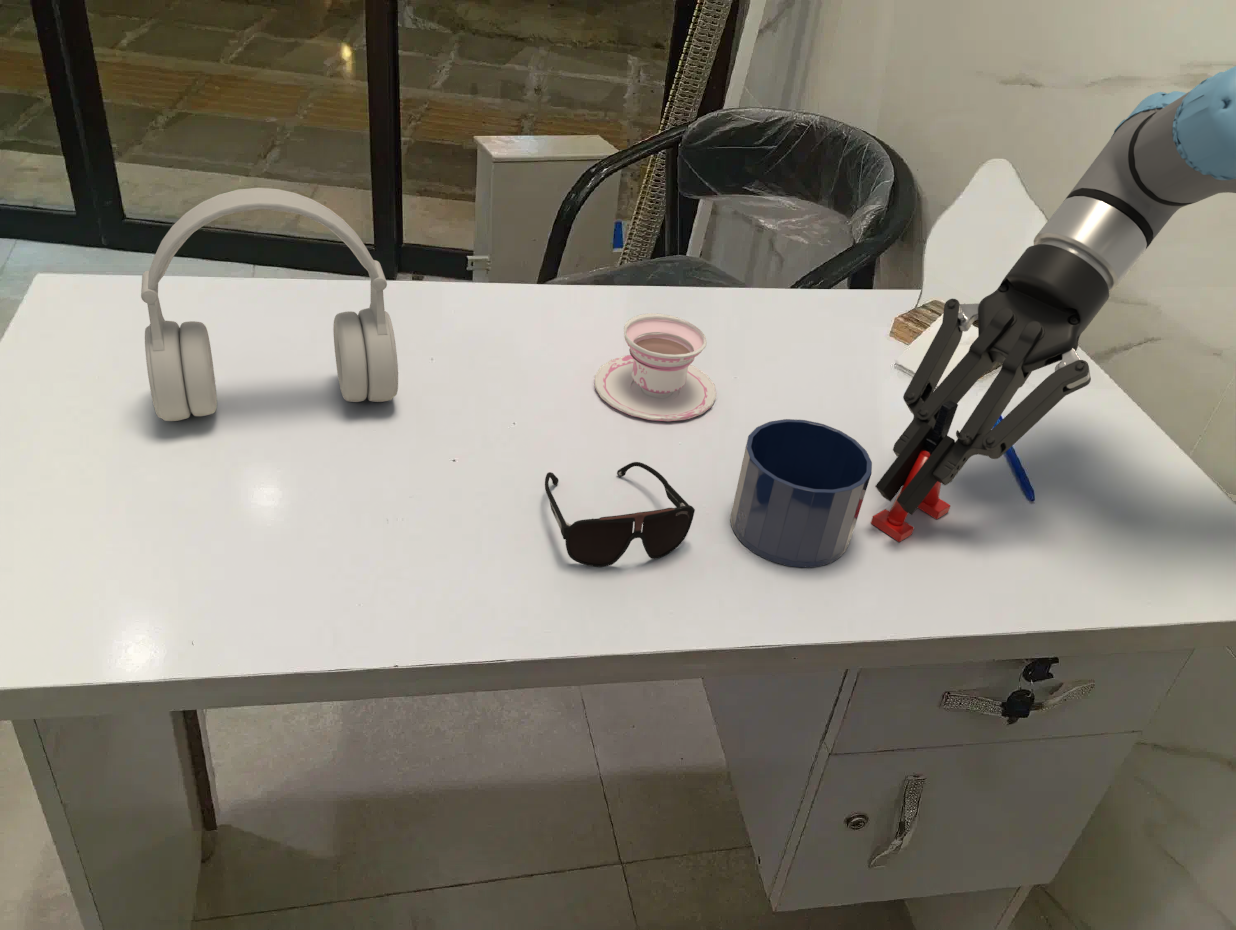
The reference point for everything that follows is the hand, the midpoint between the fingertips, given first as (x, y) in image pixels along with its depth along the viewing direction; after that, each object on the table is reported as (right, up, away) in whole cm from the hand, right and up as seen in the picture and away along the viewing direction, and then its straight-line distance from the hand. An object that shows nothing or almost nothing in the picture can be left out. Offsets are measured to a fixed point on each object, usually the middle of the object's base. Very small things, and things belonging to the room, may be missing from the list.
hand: (893, 500), depth 80 cm
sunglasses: (-23, -2, 0) cm, 23 cm away
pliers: (+3, -2, +4) cm, 5 cm away
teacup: (-19, +10, +17) cm, 27 cm away
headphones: (-52, +8, +8) cm, 54 cm away
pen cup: (-8, -2, +1) cm, 9 cm away
